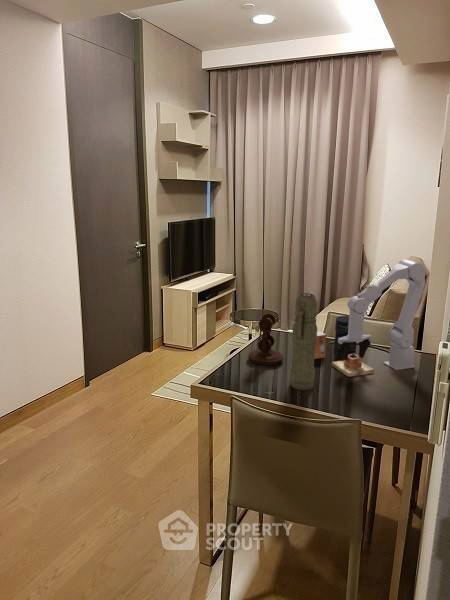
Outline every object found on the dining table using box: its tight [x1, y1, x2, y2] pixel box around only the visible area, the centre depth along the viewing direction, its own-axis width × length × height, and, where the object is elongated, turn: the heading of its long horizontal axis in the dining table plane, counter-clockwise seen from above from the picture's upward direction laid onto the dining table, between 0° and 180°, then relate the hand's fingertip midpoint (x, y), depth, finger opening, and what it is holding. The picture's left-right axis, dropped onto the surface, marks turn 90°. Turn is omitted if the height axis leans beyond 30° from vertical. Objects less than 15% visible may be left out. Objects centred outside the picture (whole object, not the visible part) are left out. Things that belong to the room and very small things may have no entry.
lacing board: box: [331, 353, 375, 378], centre depth 190 cm, size 12×12×6 cm
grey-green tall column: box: [289, 292, 318, 391], centre depth 171 cm, size 9×12×35 cm
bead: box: [343, 353, 363, 369], centre depth 190 cm, size 5×5×4 cm
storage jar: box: [333, 315, 358, 355], centre depth 209 cm, size 10×10×15 cm
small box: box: [314, 330, 327, 360], centre depth 202 cm, size 8×6×10 cm
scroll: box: [248, 313, 284, 368], centre depth 196 cm, size 15×15×20 cm
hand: (353, 358), depth 189 cm, fingers open, 7 cm apart
